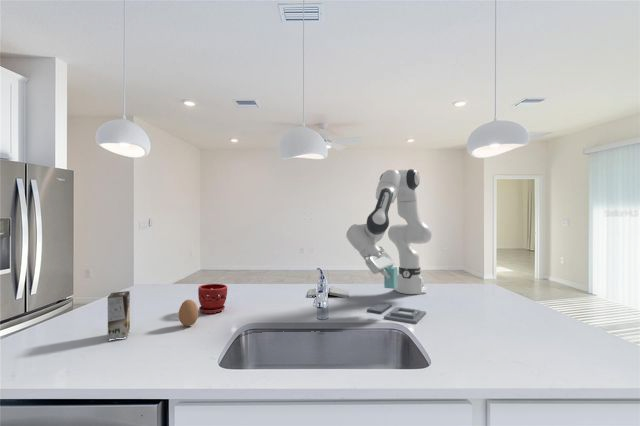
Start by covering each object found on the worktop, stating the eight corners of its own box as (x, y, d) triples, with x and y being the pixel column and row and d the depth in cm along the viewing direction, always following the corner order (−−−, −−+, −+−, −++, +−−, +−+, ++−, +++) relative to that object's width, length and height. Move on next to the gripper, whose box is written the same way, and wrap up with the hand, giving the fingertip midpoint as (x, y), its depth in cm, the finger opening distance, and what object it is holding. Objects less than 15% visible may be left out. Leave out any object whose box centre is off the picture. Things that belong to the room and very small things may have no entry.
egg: (174, 328, 139) (174, 301, 139) (187, 322, 147) (187, 296, 147) (189, 330, 137) (189, 302, 137) (202, 324, 144) (202, 298, 144)
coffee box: (127, 339, 127) (127, 295, 127) (107, 341, 125) (106, 297, 125) (130, 331, 136) (129, 290, 136) (111, 333, 133) (111, 292, 133)
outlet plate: (395, 309, 164) (395, 304, 164) (425, 313, 156) (425, 309, 156) (384, 318, 150) (383, 313, 150) (416, 323, 143) (416, 318, 143)
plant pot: (205, 317, 154) (205, 290, 154) (194, 310, 164) (193, 285, 164) (232, 311, 162) (232, 286, 162) (219, 305, 172) (219, 281, 172)
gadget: (348, 292, 202) (348, 286, 202) (349, 298, 187) (349, 291, 187) (309, 292, 203) (309, 285, 203) (307, 298, 188) (307, 291, 188)
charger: (387, 285, 159) (387, 265, 159) (397, 286, 157) (397, 266, 157) (384, 287, 155) (384, 266, 155) (394, 288, 153) (393, 267, 153)
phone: (367, 311, 160) (367, 309, 160) (378, 304, 172) (378, 302, 172) (381, 313, 157) (381, 311, 157) (391, 306, 169) (391, 304, 169)
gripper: (367, 251, 151) (388, 276, 146) (384, 247, 168) (404, 268, 163) (358, 261, 153) (378, 285, 148) (375, 255, 171) (395, 277, 166)
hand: (392, 276), depth 156 cm, fingers closed on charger, 4 cm apart
